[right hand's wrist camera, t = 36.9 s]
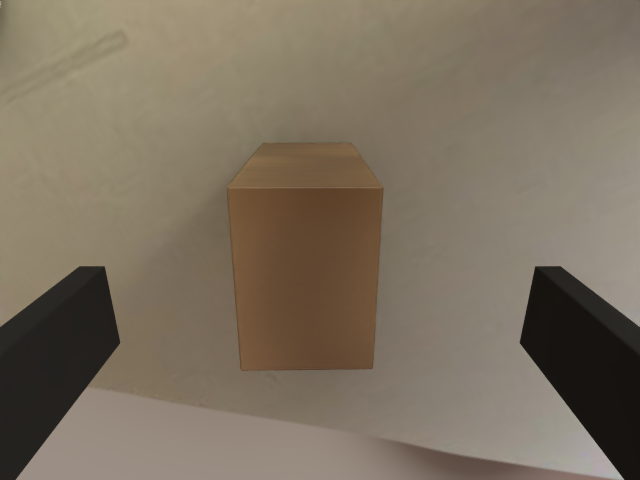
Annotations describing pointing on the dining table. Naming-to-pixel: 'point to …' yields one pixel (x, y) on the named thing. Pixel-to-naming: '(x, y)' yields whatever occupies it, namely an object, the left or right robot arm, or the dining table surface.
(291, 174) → the block
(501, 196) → the dining table surface
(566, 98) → the dining table surface
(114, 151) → the dining table surface
